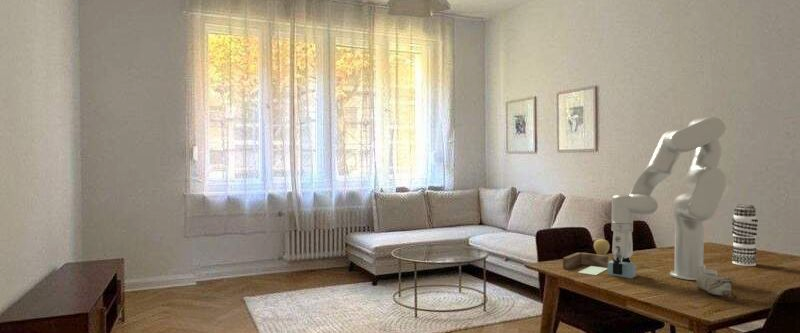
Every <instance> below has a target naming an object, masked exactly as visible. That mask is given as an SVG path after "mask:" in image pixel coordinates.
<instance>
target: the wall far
mask: <svg viewBox="0 0 800 333" xmlns="http://www.w3.org/2000/svg"><path fill="white" fill-rule="evenodd" d="M579 265H582V264H581V253H579V251H578V252H575V253H572V254H569V255H566V256H564V257H562V269H563V270H570V269H573V268H575V267H577V266H579Z"/></svg>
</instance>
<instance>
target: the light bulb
mask: <svg viewBox="0 0 800 333" xmlns="http://www.w3.org/2000/svg"><path fill="white" fill-rule="evenodd" d="M610 247H611V245H610V243H609V241H608V240H606V239H604V238H599V239H597V240H595V241H594V243H593V249H594V252H596V254H597V255H605V256H607V255H606V254H607V253H608V252H609V251H610Z"/></svg>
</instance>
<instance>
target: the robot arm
mask: <svg viewBox="0 0 800 333" xmlns="http://www.w3.org/2000/svg"><path fill="white" fill-rule="evenodd" d="M726 127H727V126H726V124H725V122H724V121H723V119H722V118H720V117H716V116H707V117H700V118H694V119H692V120H690V122H689V123H688V125H687V126H686V127H683V128H681V129H680V128H679V129H673V130H668V131H665V132H664V133H663V134H662V135H661V137H660V138H659V140H658V142H657V144H656V147H655V149H654V150H653V154H652V156H651V157H650V160H649V162H648V164H647V166H646V167H645V169H643V171H642V172H641V174H639V176H638V178H637V179H636V180H635V182H634V184H633V186H632V187H631V189H630V193H629V194H628V195H627V194H615V195H613V196H612V198H611V227H610V229H611V231H612V232H613V234H612V248H611V252H612V253H611V254H612V260H613V274H618V275H622V264H621V262H628V263H631V257H632V256H633V254H634V251H633V250H634V249H633V248H634V247H633V246H634V244H633V232H634V215H642V216H649V215H653V214H654V213H656V212H657V210H658V206H659V205H658V201H657V200H656V199H655V198H654V196H651V195H652V193H653V192H654V189H655V188H656V187H657V186H658V185H659V184H660V183H661V182H663V181H665V180H666V179H668V178H669V177H670V176H671V175H672V173H673V170H674V168H675V166H676V164H677V162H678V160H679V158H680V155H681V153H687V152H690V151H693V150H694V154H693V157H692V161H691V164H690V165H689V169H688V171H687V173H686V177H685V183H686V185H687V187H688V188H690V189H691V190H693V192H683V193H681V194H679V195H677V196H676V197H675V199H674V201H673V204H672V211H673V217H674V264H673V266H674V269H673V270H670V271H669V276H670V277H673V278H676V279H681V280H686V281H687V280H688V281H696V280H697V277H698V276H699V275H701V274H708V275H714V276H718V271H717V270H714V269H708V268H706V265H705V264H704V247H705V246H704V244H705V243H704V241H705V239H704V238H705V229H704V228H705V227H704V222H707V221H709V220H711V219H712V218H713V217H714V216H715V214H716V213H717V210H718V208H719V206H720V203H721V201H722V197H723V194H724V192H725V188H726V186H727V177H726V174H725V173H724V171H723V170H722V169H721V168H720V167H719V164H720V161H721V156H722V145H721V143H720V140H719V139H721V137H723V135H724V134H725V132H726Z"/></svg>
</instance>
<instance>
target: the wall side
mask: <svg viewBox="0 0 800 333" xmlns="http://www.w3.org/2000/svg"><path fill="white" fill-rule="evenodd" d="M578 252H579V251H578ZM579 253H581V264H580V265H585V266H597V267H604V268H608V262H609V255H606V256H605V255H597V253H589V252H583V251H580V252H579Z"/></svg>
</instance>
